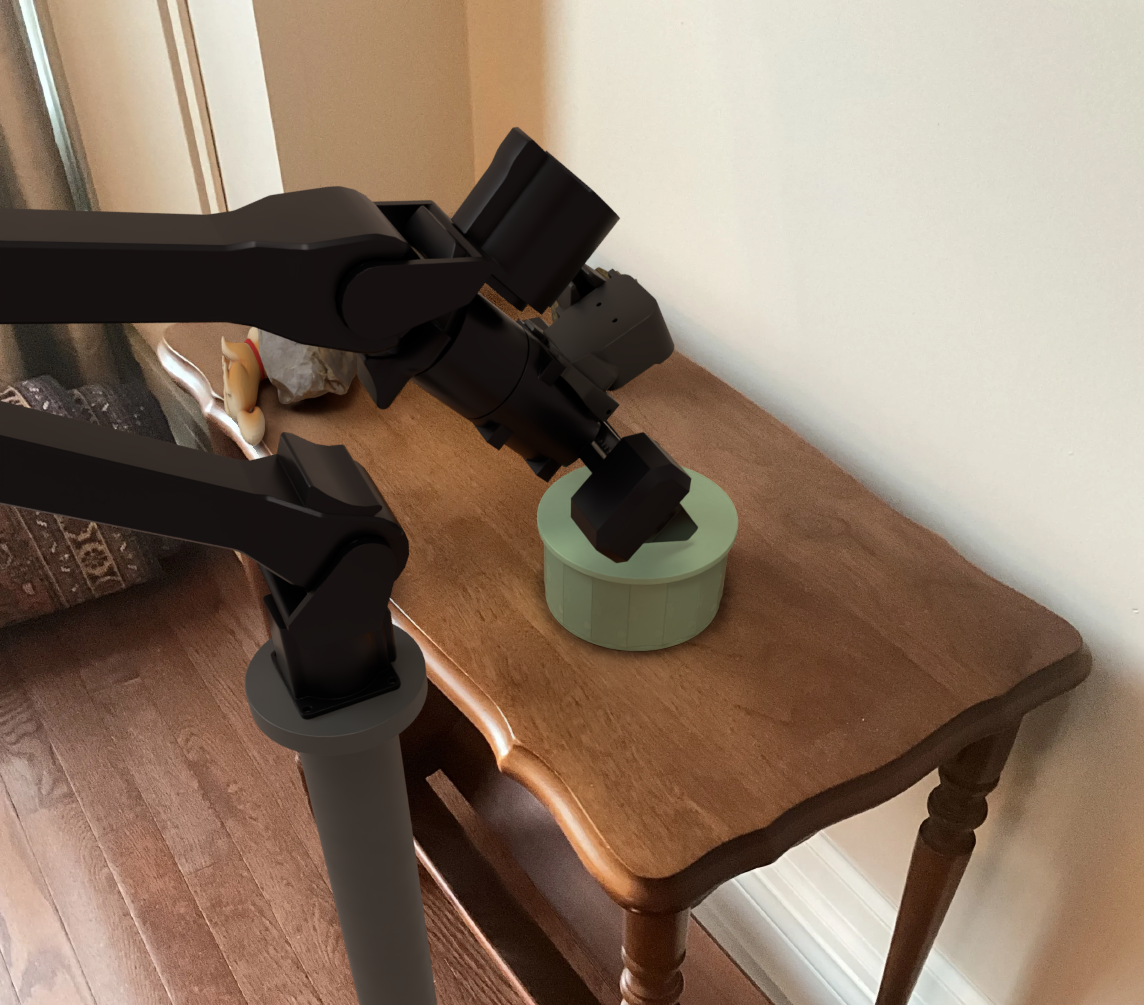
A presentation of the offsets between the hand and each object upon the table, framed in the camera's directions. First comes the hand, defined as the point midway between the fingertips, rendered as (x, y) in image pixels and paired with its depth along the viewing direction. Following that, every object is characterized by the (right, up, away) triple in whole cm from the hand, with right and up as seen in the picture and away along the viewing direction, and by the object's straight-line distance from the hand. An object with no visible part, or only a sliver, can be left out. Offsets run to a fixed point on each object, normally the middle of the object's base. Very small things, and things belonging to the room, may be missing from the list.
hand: (657, 493), depth 75 cm
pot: (-1, -6, +5) cm, 8 cm away
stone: (-26, +18, +25) cm, 40 cm away
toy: (-34, +14, +20) cm, 42 cm away
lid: (-1, -2, +1) cm, 2 cm away
